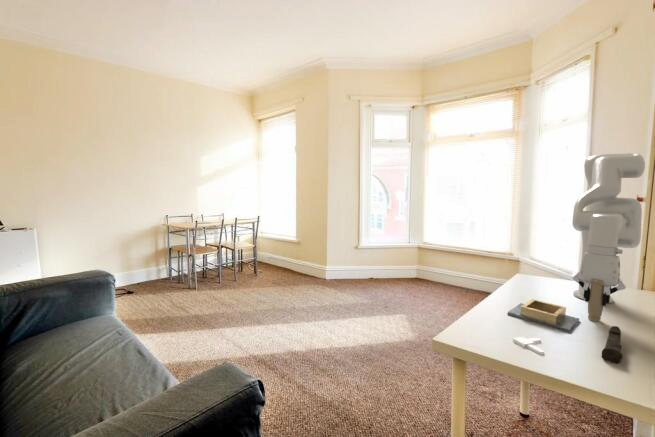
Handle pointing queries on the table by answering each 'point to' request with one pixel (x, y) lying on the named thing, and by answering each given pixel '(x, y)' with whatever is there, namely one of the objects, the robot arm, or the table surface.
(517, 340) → the corner connector
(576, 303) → the table surface
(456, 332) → the table surface
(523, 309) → the collar base
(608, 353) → the dark brown carved statuette
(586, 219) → the robot arm
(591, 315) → the handle
